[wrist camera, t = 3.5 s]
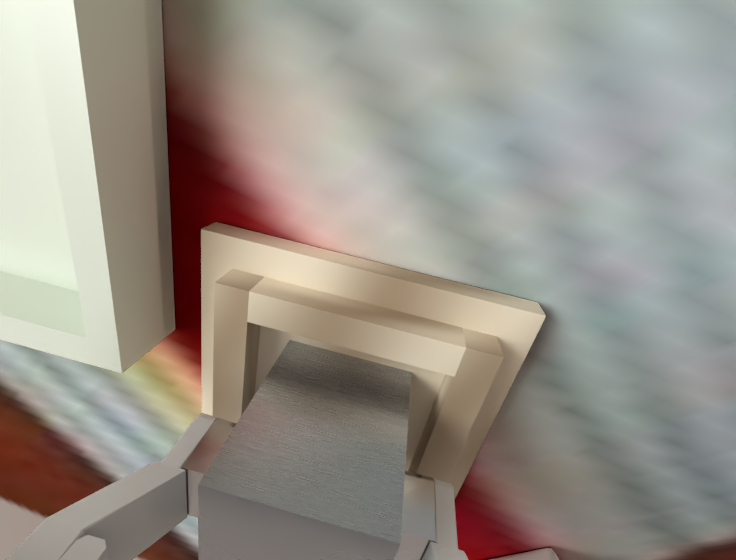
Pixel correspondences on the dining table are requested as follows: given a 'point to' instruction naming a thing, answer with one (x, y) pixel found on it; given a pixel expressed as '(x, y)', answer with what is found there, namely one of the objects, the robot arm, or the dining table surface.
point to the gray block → (311, 464)
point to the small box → (532, 555)
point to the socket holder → (362, 335)
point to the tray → (84, 180)
